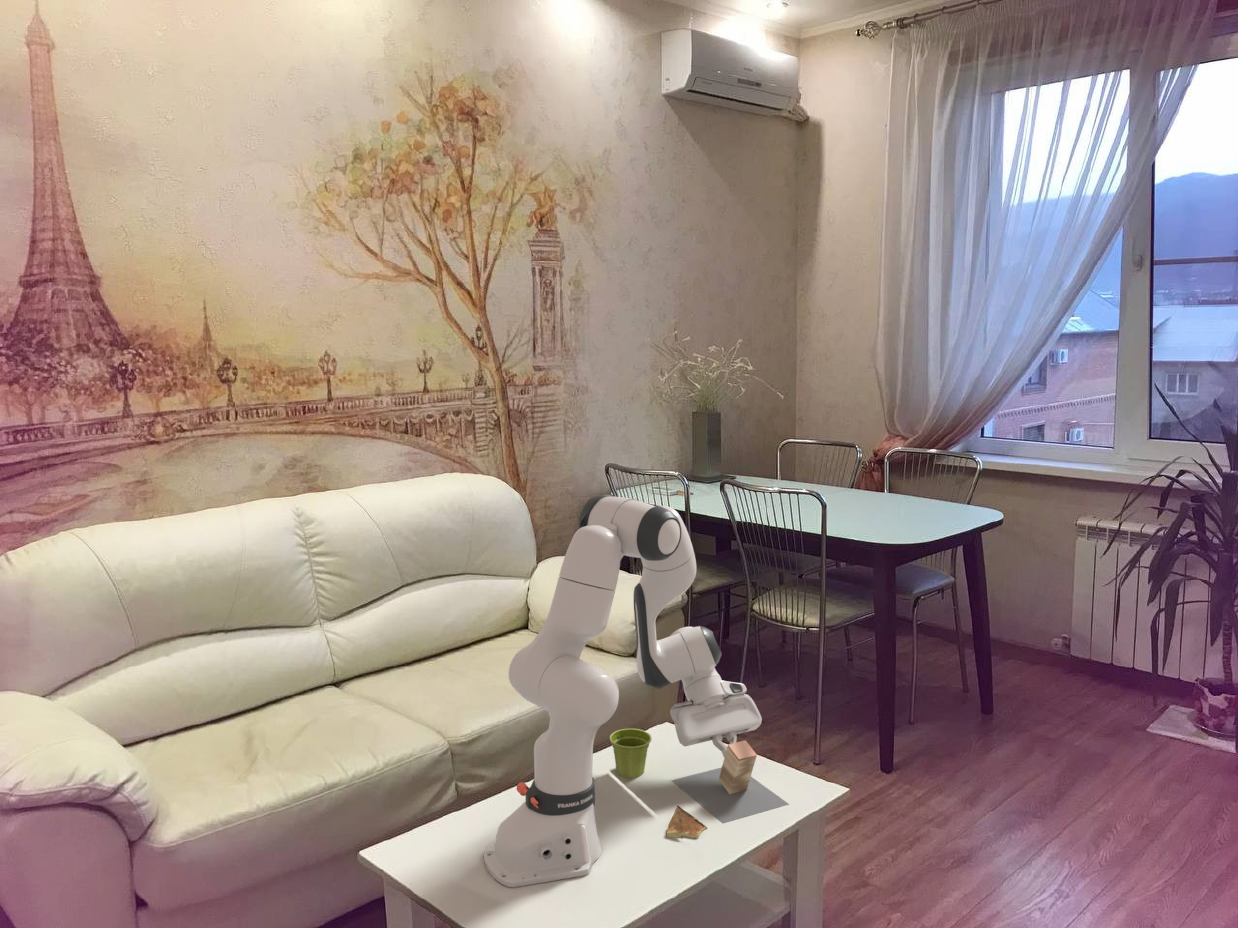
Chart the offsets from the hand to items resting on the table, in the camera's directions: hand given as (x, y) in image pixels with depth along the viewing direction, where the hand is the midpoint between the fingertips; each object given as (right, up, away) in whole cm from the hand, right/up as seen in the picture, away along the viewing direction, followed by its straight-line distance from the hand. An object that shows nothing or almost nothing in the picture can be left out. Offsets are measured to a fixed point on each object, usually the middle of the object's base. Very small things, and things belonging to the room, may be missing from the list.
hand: (731, 755), depth 204 cm
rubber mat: (-1, -8, -1) cm, 8 cm away
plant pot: (-22, -7, +9) cm, 24 cm away
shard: (-12, -11, -14) cm, 22 cm away
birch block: (0, -6, +1) cm, 6 cm away
